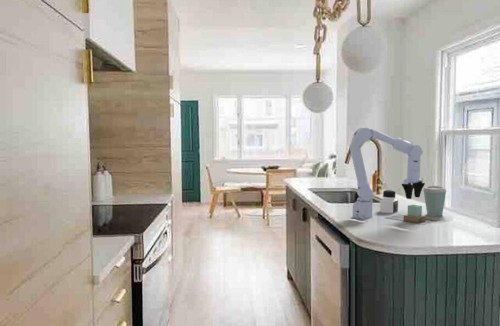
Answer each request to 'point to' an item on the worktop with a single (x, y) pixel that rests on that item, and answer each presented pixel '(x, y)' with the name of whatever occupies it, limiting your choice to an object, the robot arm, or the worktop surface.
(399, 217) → the stacking base
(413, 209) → the green cube
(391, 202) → the medicine bottle
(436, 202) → the disposable coffee cup
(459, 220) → the worktop surface
